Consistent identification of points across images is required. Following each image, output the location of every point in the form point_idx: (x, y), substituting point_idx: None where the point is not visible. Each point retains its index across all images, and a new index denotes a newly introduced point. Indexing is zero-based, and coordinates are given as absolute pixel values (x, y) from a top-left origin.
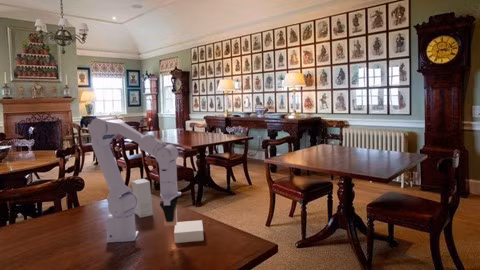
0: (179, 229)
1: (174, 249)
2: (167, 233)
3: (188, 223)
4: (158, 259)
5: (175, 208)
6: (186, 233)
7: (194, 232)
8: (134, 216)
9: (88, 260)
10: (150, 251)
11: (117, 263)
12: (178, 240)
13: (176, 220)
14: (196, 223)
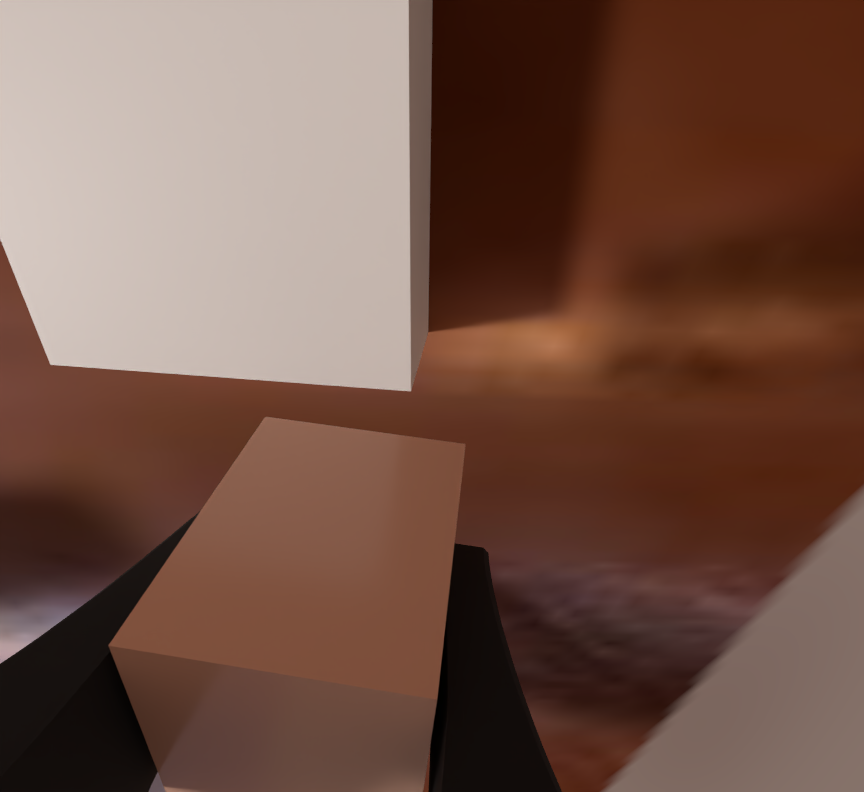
0: (300, 321)
1: (592, 339)
2: (182, 391)
3: (66, 175)
4: (749, 476)
5: (214, 676)
6: (412, 219)
7: (410, 77)
8: (157, 786)
9: (554, 774)
10: (554, 525)
11: (665, 685)
12: (425, 301)
13: (382, 472)
14: (47, 16)
